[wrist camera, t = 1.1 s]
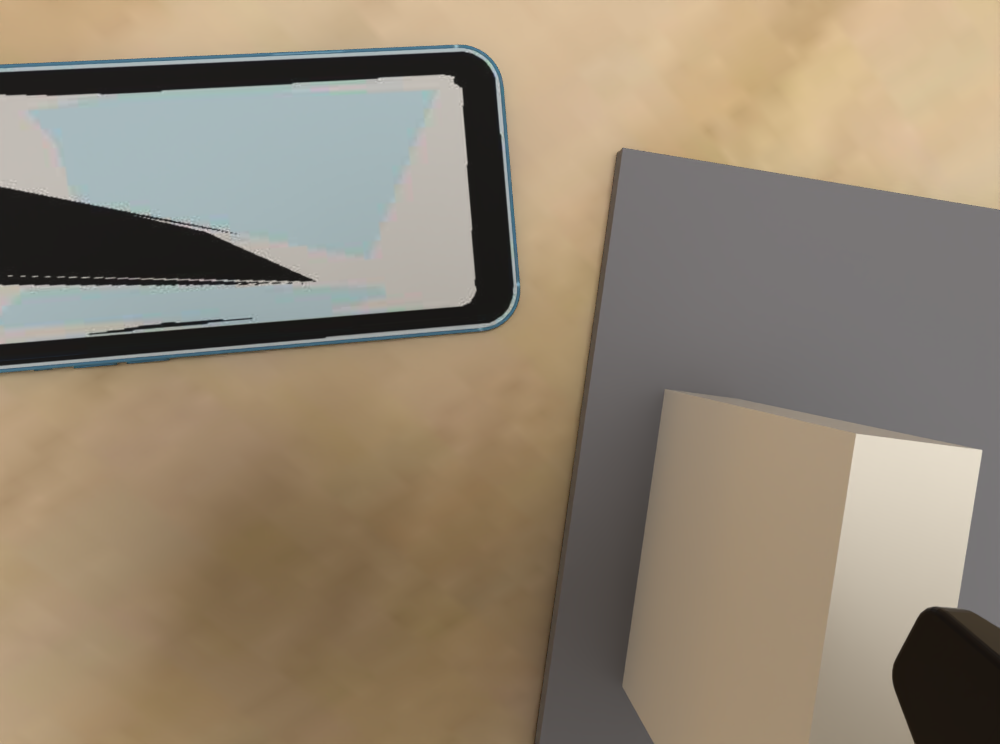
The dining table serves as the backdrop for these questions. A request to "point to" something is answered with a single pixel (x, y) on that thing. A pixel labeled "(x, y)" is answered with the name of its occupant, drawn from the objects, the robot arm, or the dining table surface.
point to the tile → (788, 572)
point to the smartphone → (251, 203)
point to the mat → (762, 370)
